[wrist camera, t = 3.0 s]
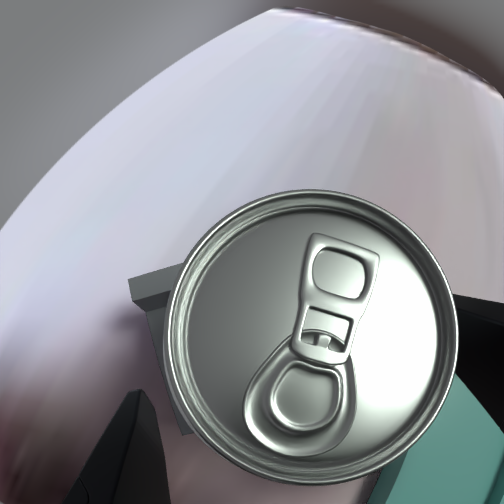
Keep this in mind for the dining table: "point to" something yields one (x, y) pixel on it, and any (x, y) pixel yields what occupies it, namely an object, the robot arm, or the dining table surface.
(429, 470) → the tray
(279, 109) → the dining table surface
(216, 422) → the can
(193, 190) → the dining table surface
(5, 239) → the dining table surface
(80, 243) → the dining table surface
